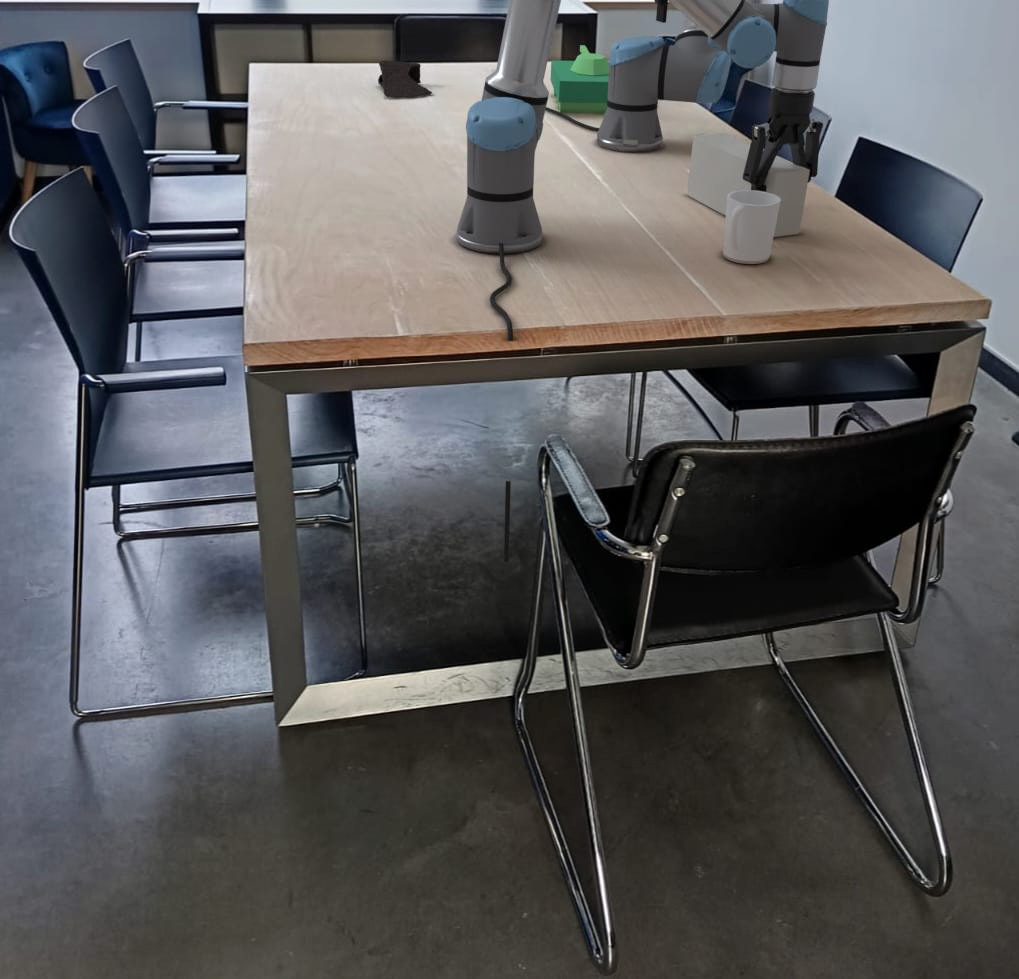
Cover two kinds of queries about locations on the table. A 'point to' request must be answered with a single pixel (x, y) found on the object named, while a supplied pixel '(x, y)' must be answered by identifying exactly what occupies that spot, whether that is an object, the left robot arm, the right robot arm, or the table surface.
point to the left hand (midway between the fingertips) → (773, 217)
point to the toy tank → (581, 83)
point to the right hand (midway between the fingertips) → (690, 20)
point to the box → (722, 173)
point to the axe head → (401, 79)
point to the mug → (750, 226)
